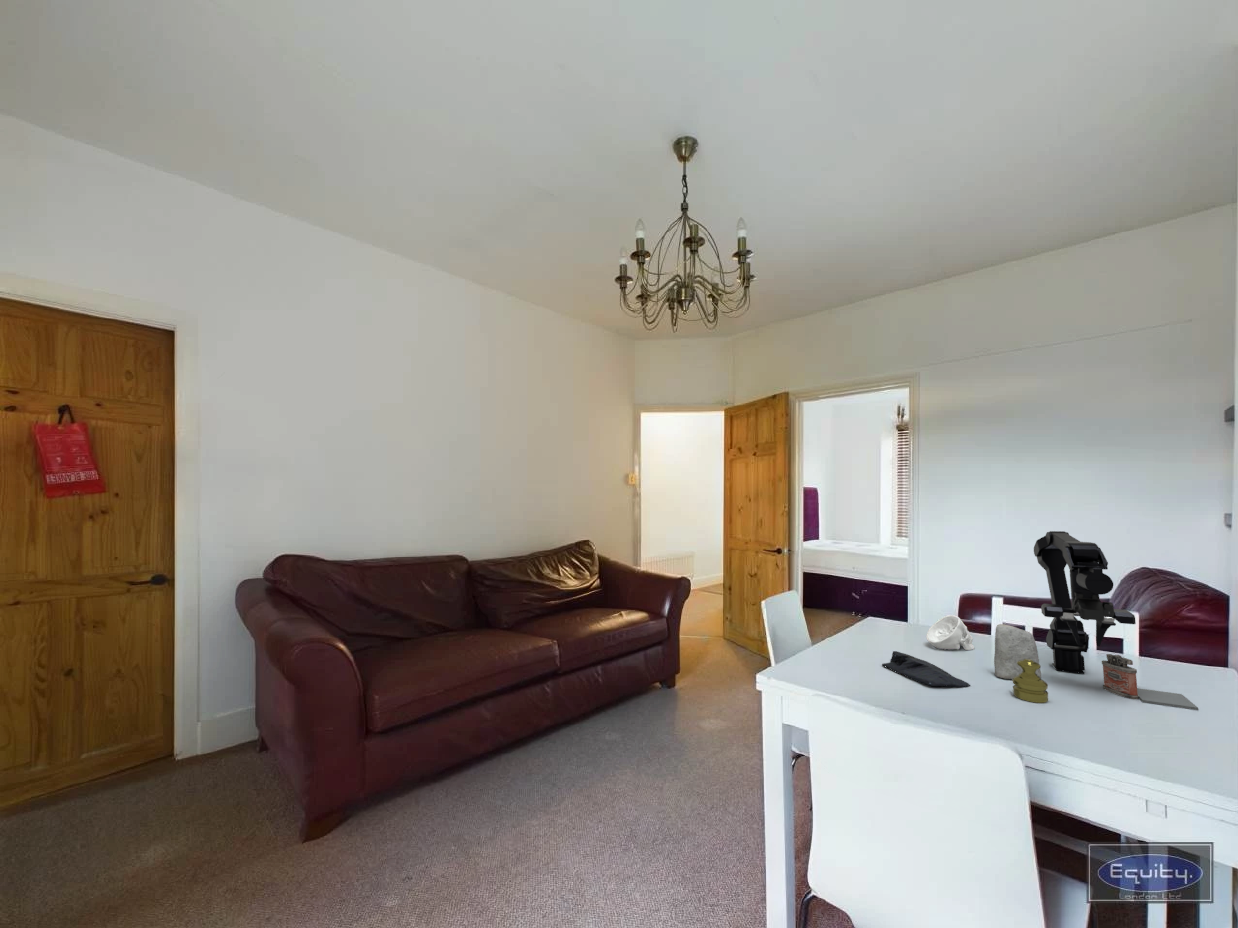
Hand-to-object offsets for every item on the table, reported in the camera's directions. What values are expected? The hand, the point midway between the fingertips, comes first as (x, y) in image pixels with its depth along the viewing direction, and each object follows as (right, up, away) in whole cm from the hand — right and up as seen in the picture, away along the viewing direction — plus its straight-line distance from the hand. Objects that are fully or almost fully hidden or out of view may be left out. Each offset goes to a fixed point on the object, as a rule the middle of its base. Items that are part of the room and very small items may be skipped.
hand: (1088, 644), depth 142 cm
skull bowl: (-13, -15, +38) cm, 43 cm away
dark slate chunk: (-38, -14, +12) cm, 43 cm away
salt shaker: (-20, -12, -6) cm, 25 cm away
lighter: (+5, -12, -4) cm, 14 cm away
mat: (+12, -11, -8) cm, 18 cm away
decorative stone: (-13, -13, +9) cm, 20 cm away
